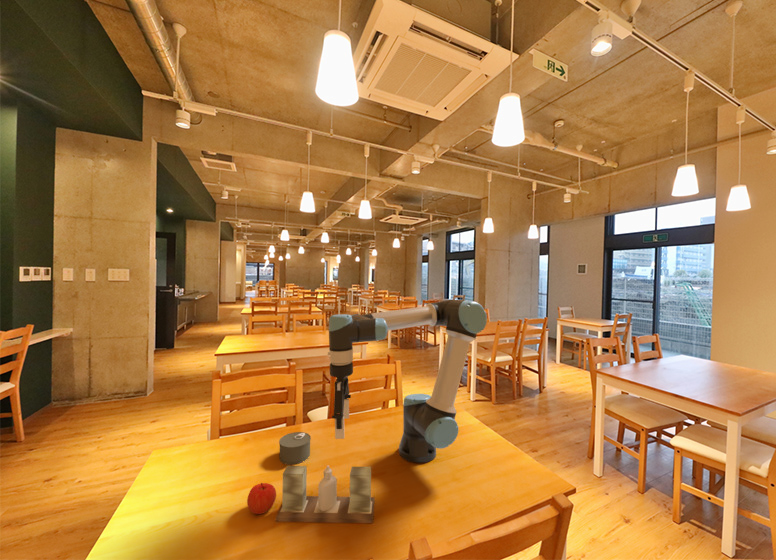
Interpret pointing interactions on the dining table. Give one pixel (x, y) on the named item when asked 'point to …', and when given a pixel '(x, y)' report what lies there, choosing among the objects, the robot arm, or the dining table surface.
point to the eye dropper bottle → (327, 490)
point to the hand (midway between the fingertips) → (342, 427)
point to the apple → (261, 498)
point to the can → (294, 448)
